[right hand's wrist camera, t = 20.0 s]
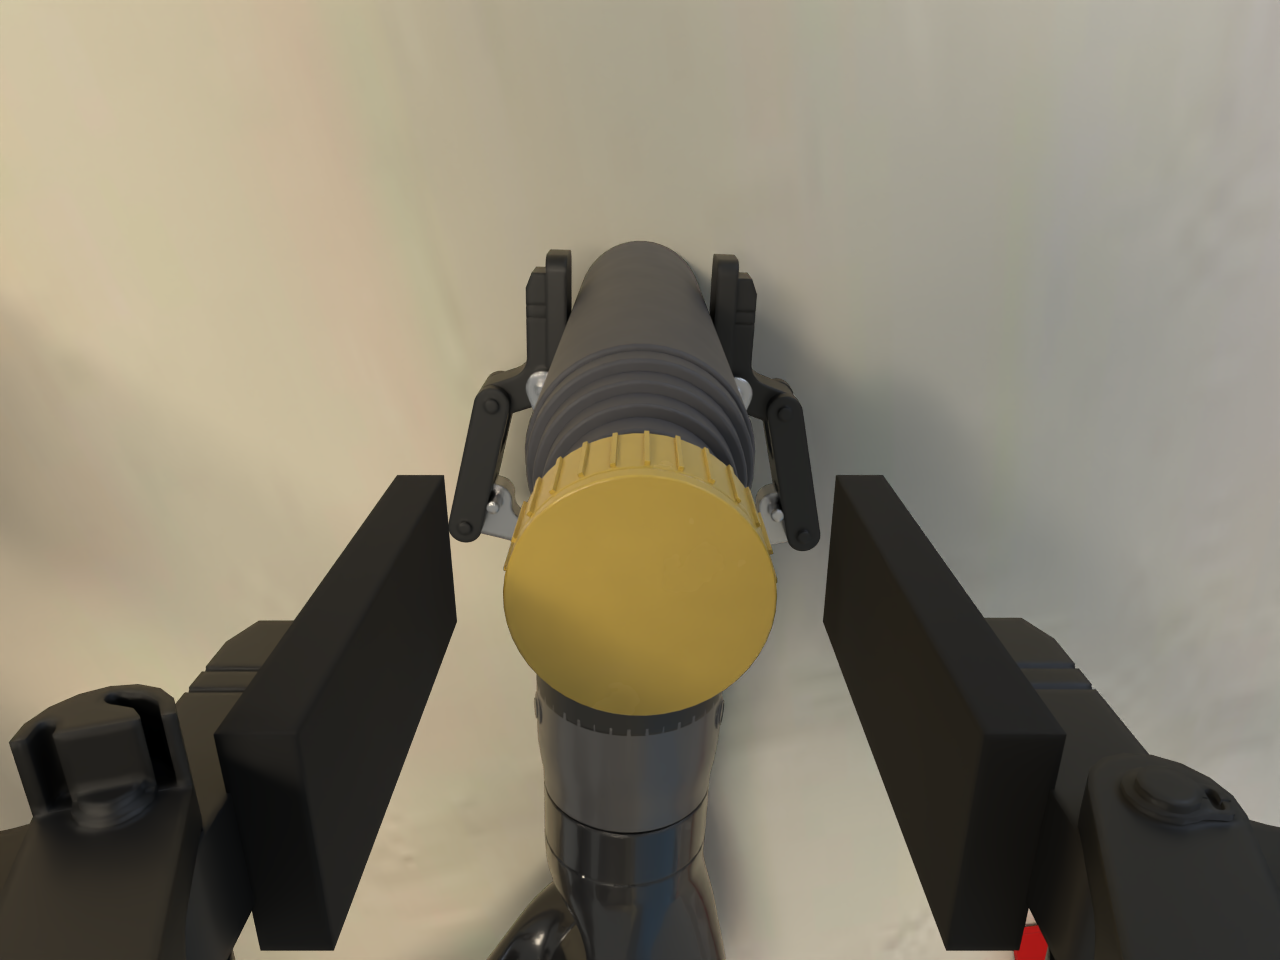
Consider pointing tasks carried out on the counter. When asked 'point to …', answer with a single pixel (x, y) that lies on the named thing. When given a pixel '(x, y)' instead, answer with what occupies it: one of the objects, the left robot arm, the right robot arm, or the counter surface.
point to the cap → (639, 576)
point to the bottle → (639, 366)
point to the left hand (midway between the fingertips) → (643, 257)
